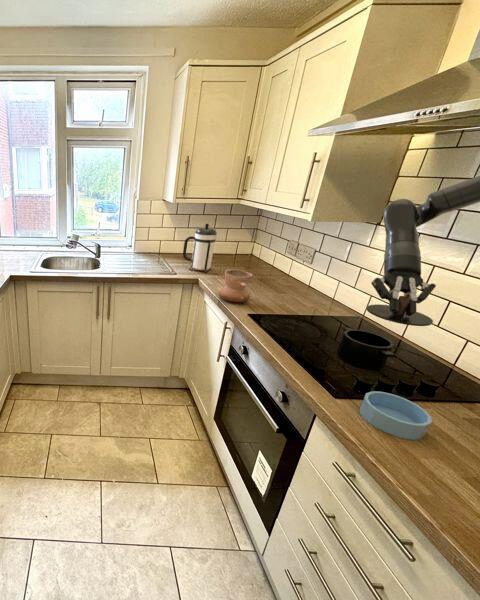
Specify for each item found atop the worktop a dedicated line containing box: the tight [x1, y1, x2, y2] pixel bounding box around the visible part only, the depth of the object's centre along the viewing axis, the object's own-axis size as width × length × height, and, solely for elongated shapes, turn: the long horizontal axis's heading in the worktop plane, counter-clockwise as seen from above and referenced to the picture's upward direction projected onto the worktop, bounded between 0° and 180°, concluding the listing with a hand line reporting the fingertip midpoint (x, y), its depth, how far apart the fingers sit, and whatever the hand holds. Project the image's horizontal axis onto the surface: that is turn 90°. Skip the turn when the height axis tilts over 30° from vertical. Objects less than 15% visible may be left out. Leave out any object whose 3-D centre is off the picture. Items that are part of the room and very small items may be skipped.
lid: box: [366, 295, 434, 327], centre depth 88 cm, size 14×14×6 cm
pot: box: [336, 327, 395, 371], centre depth 107 cm, size 12×18×8 cm
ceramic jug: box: [218, 268, 253, 304], centre depth 157 cm, size 18×14×14 cm
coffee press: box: [182, 223, 219, 274], centre depth 201 cm, size 17×16×30 cm
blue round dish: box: [359, 390, 433, 441], centre depth 81 cm, size 12×12×4 cm
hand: (402, 313), depth 87 cm, fingers closed on lid, 2 cm apart
